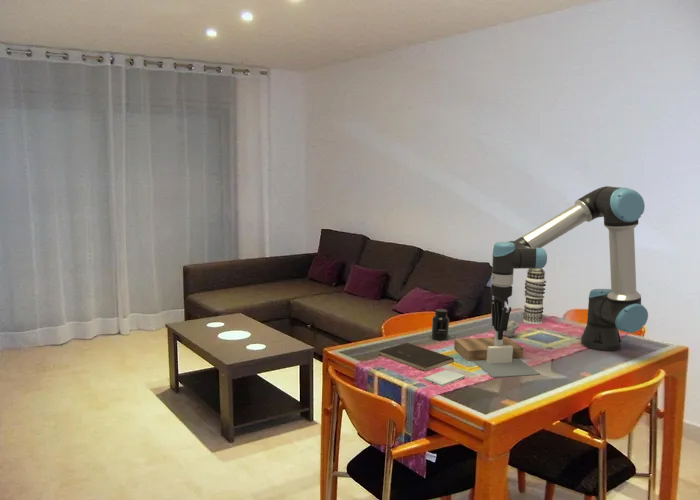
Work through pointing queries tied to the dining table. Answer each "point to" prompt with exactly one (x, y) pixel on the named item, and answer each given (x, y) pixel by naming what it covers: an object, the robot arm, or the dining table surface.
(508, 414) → the dining table surface
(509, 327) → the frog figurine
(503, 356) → the cream rectangular block
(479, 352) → the brown wooden block
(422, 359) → the hardcover book
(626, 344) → the dining table surface
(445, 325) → the supplement bottle
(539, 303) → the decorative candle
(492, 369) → the mat
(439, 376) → the hard drive
